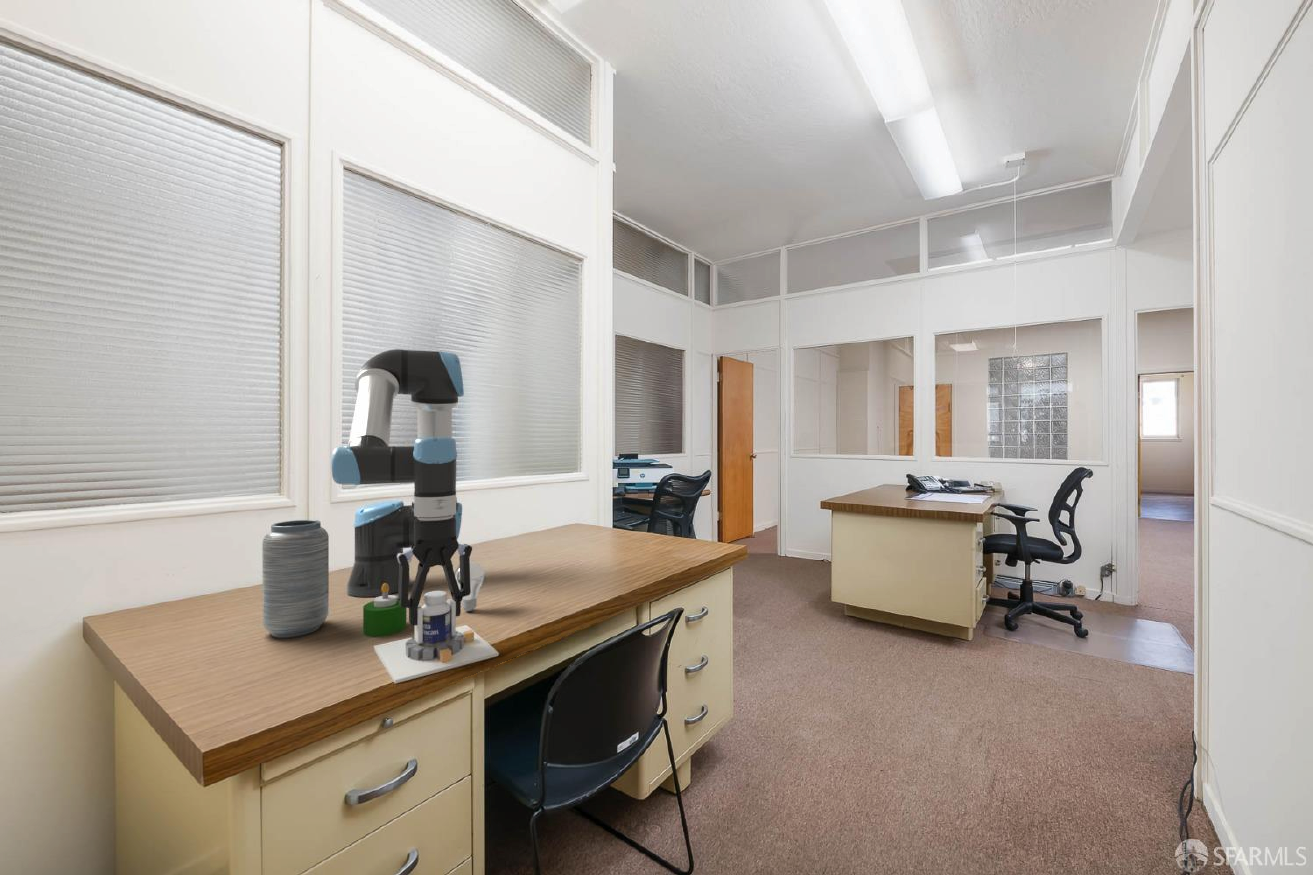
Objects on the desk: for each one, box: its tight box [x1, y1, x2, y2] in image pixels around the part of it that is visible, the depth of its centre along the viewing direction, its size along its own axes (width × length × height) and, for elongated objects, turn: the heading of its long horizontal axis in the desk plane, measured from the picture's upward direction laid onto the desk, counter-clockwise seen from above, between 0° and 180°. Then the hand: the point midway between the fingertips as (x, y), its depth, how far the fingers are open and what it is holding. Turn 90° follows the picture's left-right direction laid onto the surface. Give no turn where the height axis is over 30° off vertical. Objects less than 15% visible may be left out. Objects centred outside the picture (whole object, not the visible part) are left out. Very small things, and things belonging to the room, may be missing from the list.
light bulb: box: [454, 560, 486, 613], centre depth 123 cm, size 7×7×12 cm
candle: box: [362, 583, 408, 638], centre depth 112 cm, size 8×8×10 cm
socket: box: [373, 624, 500, 684], centre depth 100 cm, size 18×18×2 cm
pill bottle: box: [420, 590, 450, 647], centre depth 100 cm, size 5×5×10 cm
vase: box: [261, 519, 330, 639], centre depth 111 cm, size 12×12×23 cm
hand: (435, 636), depth 101 cm, fingers closed on pill bottle, 5 cm apart
